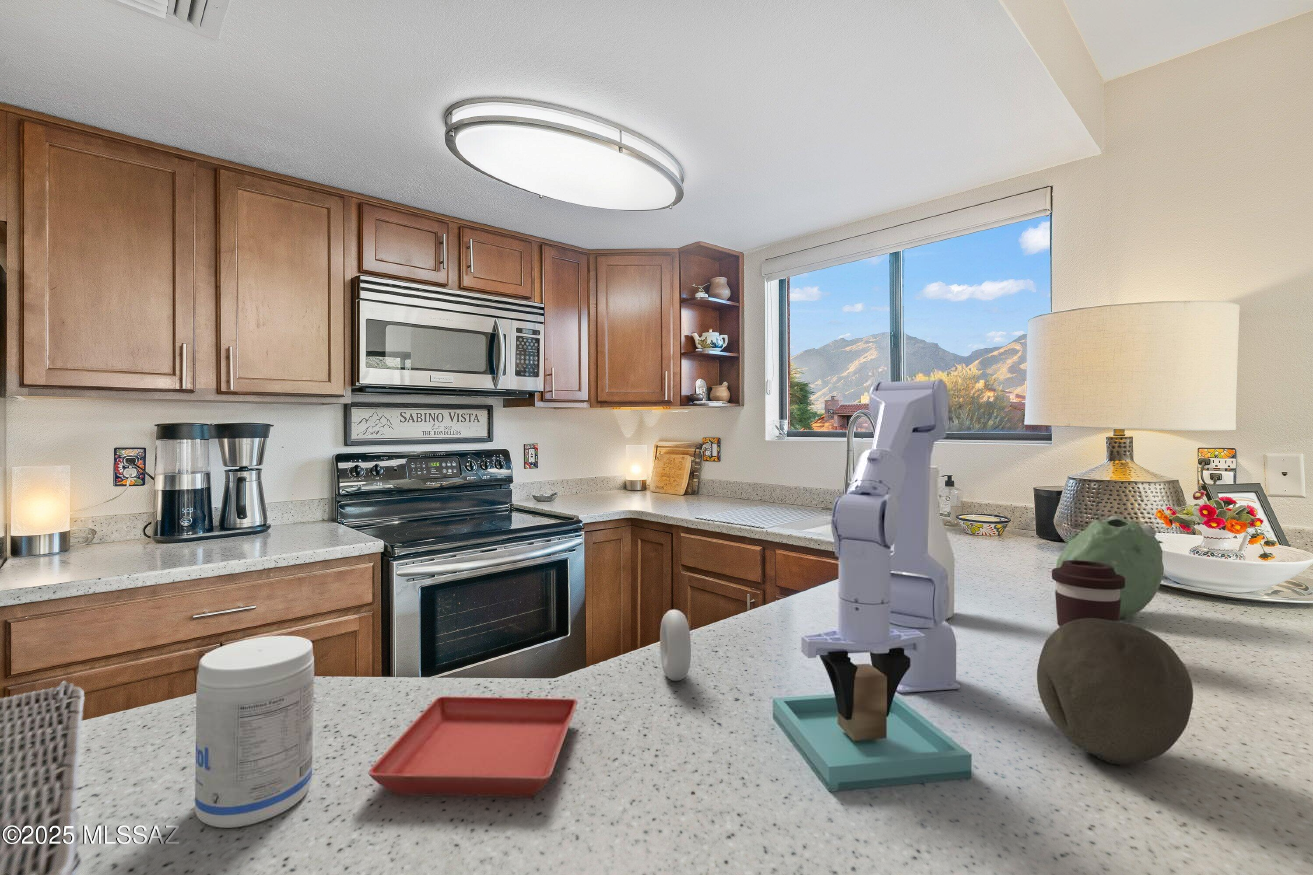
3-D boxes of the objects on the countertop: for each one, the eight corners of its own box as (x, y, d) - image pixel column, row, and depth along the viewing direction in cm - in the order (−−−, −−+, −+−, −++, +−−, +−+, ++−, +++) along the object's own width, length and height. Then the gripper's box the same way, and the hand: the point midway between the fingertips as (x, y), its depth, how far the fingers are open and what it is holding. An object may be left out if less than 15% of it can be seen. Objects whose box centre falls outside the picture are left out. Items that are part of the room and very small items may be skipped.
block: (868, 721, 72) (869, 663, 72) (886, 737, 68) (887, 676, 68) (837, 723, 72) (838, 665, 72) (853, 740, 68) (854, 678, 68)
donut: (693, 691, 84) (694, 620, 84) (669, 693, 83) (669, 621, 83) (679, 664, 94) (679, 600, 94) (657, 665, 93) (658, 601, 93)
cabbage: (1036, 607, 127) (1037, 512, 127) (1108, 602, 131) (1109, 511, 131) (1107, 630, 112) (1108, 523, 112) (1186, 624, 116) (1187, 521, 116)
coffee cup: (1058, 659, 97) (1059, 567, 97) (1045, 640, 106) (1046, 555, 106) (1133, 668, 93) (1134, 572, 93) (1112, 648, 103) (1113, 560, 103)
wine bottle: (963, 621, 117) (964, 467, 117) (914, 621, 117) (915, 467, 117) (940, 607, 126) (941, 465, 126) (895, 607, 126) (896, 464, 126)
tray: (888, 709, 79) (888, 690, 79) (971, 777, 63) (971, 754, 63) (772, 717, 76) (773, 697, 76) (828, 791, 61) (829, 766, 61)
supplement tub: (183, 803, 58) (184, 651, 58) (292, 762, 65) (293, 627, 65) (211, 848, 52) (212, 678, 52) (329, 798, 59) (329, 648, 59)
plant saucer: (437, 719, 76) (437, 693, 76) (578, 722, 76) (579, 696, 76) (364, 808, 58) (364, 773, 58) (549, 812, 57) (549, 778, 57)
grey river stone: (1208, 806, 58) (1210, 653, 58) (1036, 763, 66) (1038, 628, 66) (1178, 744, 70) (1179, 616, 70) (1035, 713, 78) (1037, 598, 78)
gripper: (820, 610, 65) (819, 735, 65) (942, 604, 67) (941, 726, 67) (794, 592, 72) (793, 706, 72) (906, 588, 74) (905, 698, 74)
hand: (862, 714), depth 70 cm, fingers closed on block, 4 cm apart
